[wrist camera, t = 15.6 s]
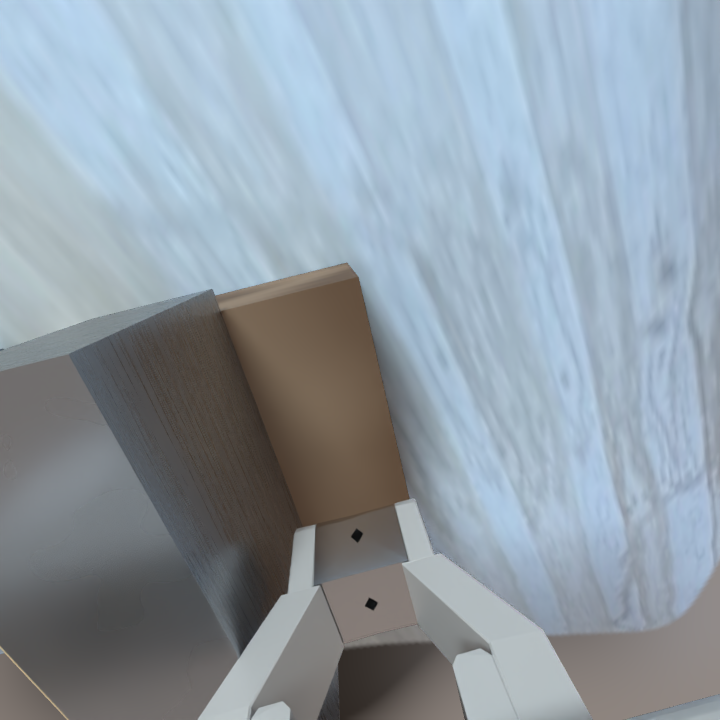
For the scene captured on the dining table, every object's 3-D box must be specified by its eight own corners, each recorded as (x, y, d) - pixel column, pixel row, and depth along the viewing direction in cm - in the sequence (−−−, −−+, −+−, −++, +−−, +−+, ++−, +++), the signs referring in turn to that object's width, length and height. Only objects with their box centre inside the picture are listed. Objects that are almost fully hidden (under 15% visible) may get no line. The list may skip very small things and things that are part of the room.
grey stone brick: (212, 288, 8) (67, 354, 4) (336, 614, 13) (342, 840, 8) (91, 319, 8) (-209, 424, 4) (255, 635, 13) (213, 874, 8)
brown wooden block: (346, 262, 13) (358, 276, 9) (400, 487, 17) (428, 582, 12) (16, 345, 13) (-155, 405, 9) (143, 552, 17) (74, 673, 12)
